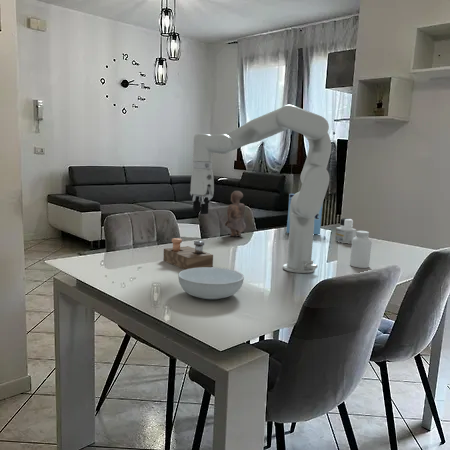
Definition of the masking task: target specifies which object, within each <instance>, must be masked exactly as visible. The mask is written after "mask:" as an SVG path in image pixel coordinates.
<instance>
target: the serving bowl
mask: <svg viewBox="0 0 450 450" xmlns="http://www.w3.org/2000/svg"><path fill="white" fill-rule="evenodd" d="M177 275H178V276H177V277H178V282H179V285H180V288H181V289H183V291H184V292H185V293H187V294H188V295H190V296H193V297H196V298H198V299H199V298H200V299H203V300H219V299H224V298H228V297H232V296H234V295H235V294H236V293H238V292H239V291H240V289H241V288H242V286H243V283H244V279H245V276H244V274H243V273H241V272H239V271H237V270H234V269H229V268H225V267H200V268H191V269H186V270H185V269H182V270H181V271H180V272H179V273H178V274H177Z"/></svg>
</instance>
